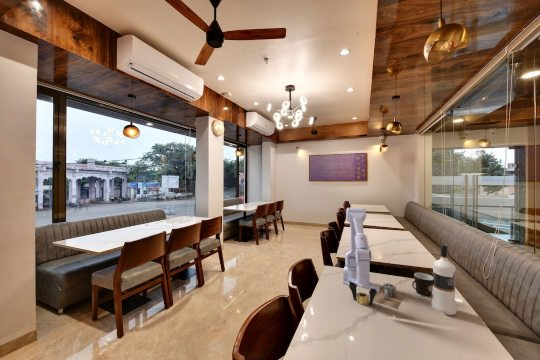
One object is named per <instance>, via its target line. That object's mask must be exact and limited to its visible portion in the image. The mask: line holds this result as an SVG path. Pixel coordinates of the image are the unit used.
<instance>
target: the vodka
mask: <svg viewBox="0 0 540 360" xmlns="http://www.w3.org/2000/svg"><path fill="white" fill-rule="evenodd" d="M448 247H449V246H448V245H445V244H444V245H443V244H441V245H440V259H437V260H435V261H434V262H433V263H432V271H433V290H432V299H431V303H430V304H431V307H432V308H433V309H435V310H437V311H438V312H441V313H443V314H444V315H446V316H454V315H456V314H457V311H458V310H457V306H456V299H455V298H456V265H454V263H452V261H450V260H449V259H448V258H449V257H448V256H449V254H448V253H449V251H448Z"/></svg>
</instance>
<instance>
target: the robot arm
mask: <svg viewBox="0 0 540 360" xmlns="http://www.w3.org/2000/svg"><path fill="white" fill-rule="evenodd" d="M345 215H346V216H345V218H346V219H345V220H346V222H348V223H349V226H350V227H349V228H350V229H349V230H350V231H349V235H350V250H349V251H347V252H346V253H345V258H344V262H345V264H344V265H345V266H344V268H343V271H342V273H343V274H342V275H343V276H342V277H343V279H342V280H343V281H342V284H345V285H348V287H349V289H350V291H351V294H352V298H353V300H357V293H358V292H357V290H358V289H357V287H360V288H366V289H369V291H368V295H369V306H373V302H374V301H373V300H374V297H375V294H376V292H379V291H380V287H381V286H379V285H378V284H377V285H376V284H375V283H372V282H370V274H371V273H370V266H371V265H370V263H371V262H372V250H371V248H370V246H369V243H368V238H367V237H368V236H367V235H366V234H364V222H365V220H366V218H367V211H366V209H365V207H360V208H357V207H347V208H346V211H345Z"/></svg>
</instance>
